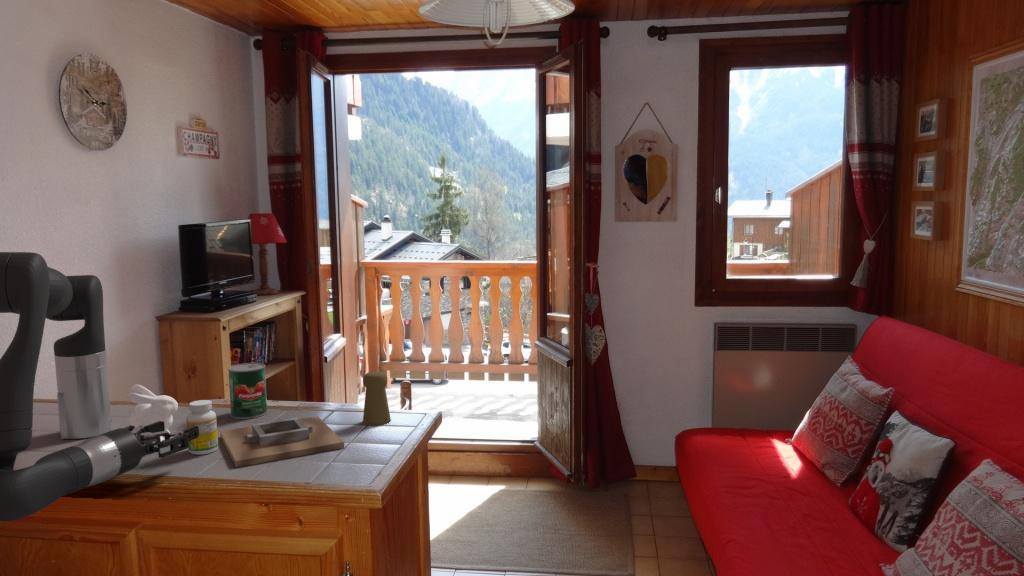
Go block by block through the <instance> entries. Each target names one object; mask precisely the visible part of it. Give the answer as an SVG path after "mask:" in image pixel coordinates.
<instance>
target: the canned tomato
mask: <svg viewBox="0 0 1024 576" xmlns="http://www.w3.org/2000/svg"><path fill="white" fill-rule="evenodd" d="M227 370H228V384H229V387H228V389H229V401H230V403H229V405H230V417H231V418H232V417H234V418H233V419H235V418H237V420H249V419H250V418H251V419H256V418H260V417H263V416H265V415H267V414H268V400H267V380H266V365H265V364H264V363H260V362H245V363H244V362H243V363H237V364H233V365H230V366H229V367H228V368H227Z"/></svg>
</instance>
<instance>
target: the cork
mask: <svg viewBox="0 0 1024 576" xmlns="http://www.w3.org/2000/svg"><path fill="white" fill-rule="evenodd" d="M362 384H363V386H364V387H365V394H364V405H363V407H364V408H363V416H362V424H363V425H365V426H367V425H368V426H367V427H378V426H379V425H381V426H385V425H387V423H388V424H390V423H391V422H392V420H391V413H390V408H389V402H388V401H389V400H388V397H387V392H386V391H387V390H386V386H387V384H388V375H387V374H386V373H385V372H383V371H369V372H366V373H365V374H364V375H363V378H362ZM390 421H391V422H390ZM389 422H390V423H389ZM384 424H385V425H384Z"/></svg>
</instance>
